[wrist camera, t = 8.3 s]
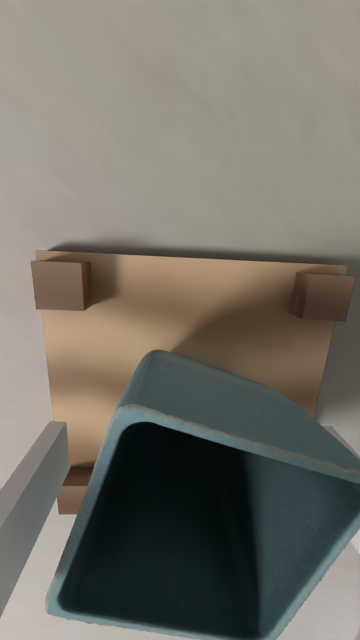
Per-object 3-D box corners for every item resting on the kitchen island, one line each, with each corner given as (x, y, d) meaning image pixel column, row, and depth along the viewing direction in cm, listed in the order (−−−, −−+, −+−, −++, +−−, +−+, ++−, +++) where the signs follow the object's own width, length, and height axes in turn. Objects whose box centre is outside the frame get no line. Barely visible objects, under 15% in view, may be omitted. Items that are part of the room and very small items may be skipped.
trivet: (46, 250, 15) (19, 250, 12) (334, 264, 16) (367, 267, 13) (68, 484, 20) (51, 519, 17) (287, 485, 20) (304, 519, 18)
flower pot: (276, 359, 16) (401, 487, 7) (221, 462, 18) (269, 657, 9) (148, 313, 15) (116, 401, 6) (106, 429, 17) (38, 616, 8)
